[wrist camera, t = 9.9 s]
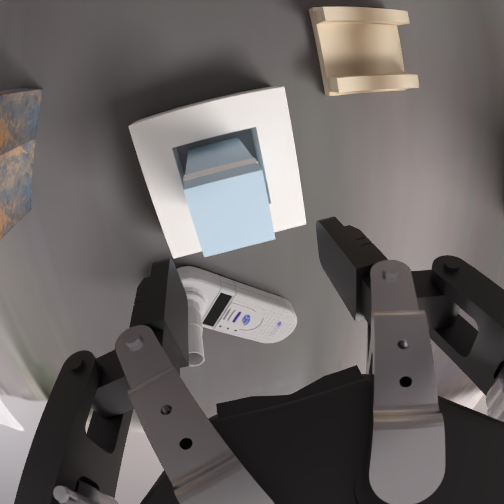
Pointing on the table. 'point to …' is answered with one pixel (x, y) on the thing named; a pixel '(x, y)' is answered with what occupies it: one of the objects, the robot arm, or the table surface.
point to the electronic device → (232, 310)
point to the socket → (211, 131)
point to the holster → (360, 49)
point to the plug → (227, 197)
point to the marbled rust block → (17, 153)
